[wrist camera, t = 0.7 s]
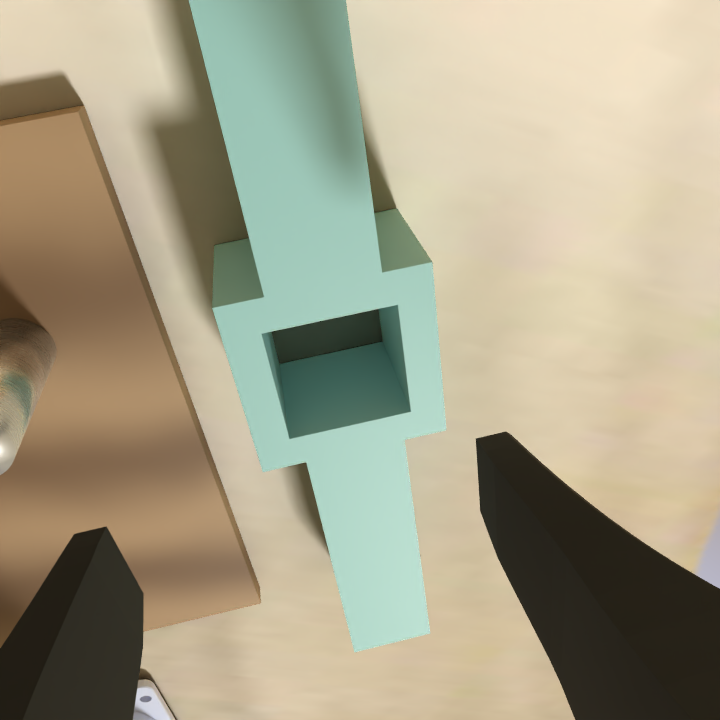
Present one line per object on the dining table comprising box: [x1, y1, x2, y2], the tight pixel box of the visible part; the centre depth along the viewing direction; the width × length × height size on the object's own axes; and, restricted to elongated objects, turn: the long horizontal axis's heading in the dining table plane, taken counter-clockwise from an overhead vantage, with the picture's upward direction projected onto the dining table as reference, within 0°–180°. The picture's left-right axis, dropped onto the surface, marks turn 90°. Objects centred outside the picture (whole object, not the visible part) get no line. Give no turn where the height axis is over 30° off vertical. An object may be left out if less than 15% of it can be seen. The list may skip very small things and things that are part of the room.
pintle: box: [0, 318, 57, 475], centre depth 17 cm, size 2×2×5 cm
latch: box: [189, 0, 446, 652], centre depth 20 cm, size 23×6×4 cm, turn 8°
